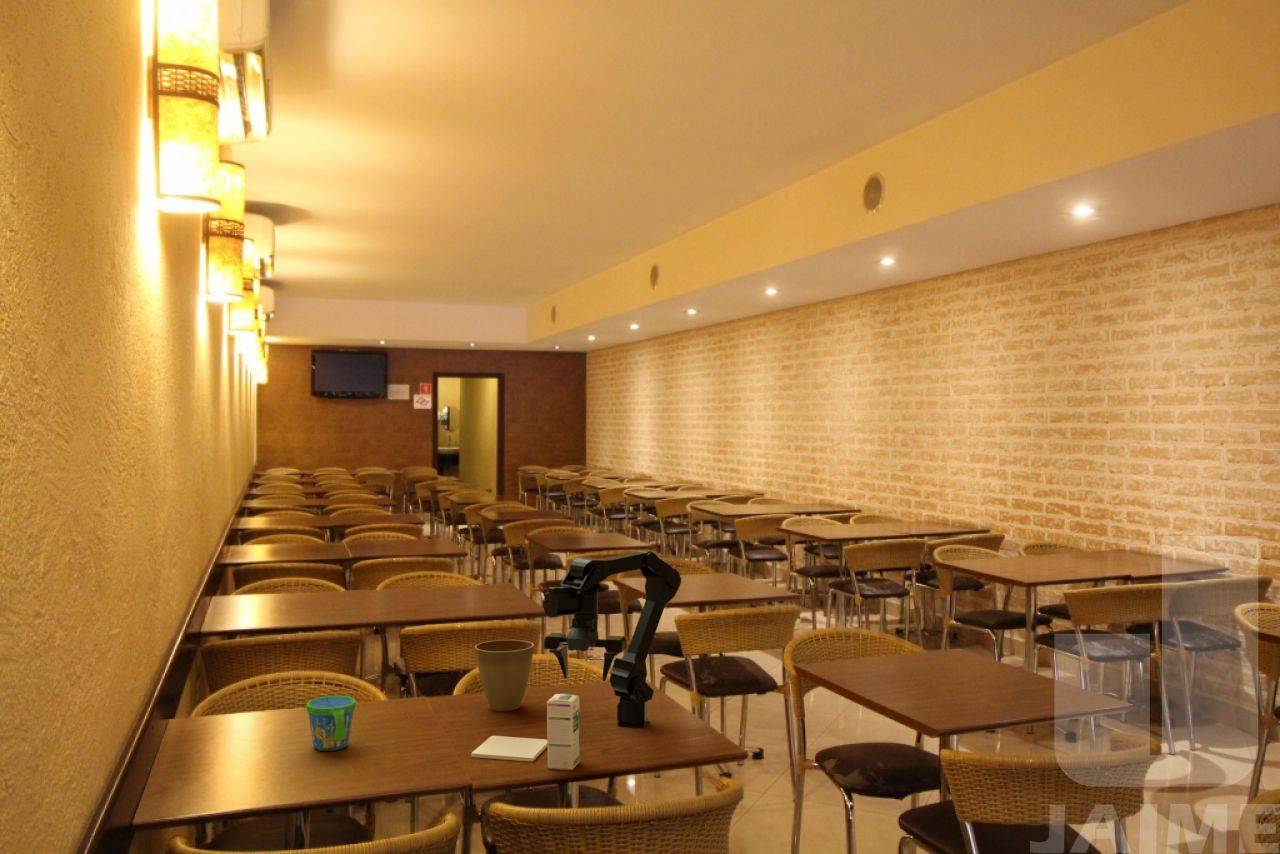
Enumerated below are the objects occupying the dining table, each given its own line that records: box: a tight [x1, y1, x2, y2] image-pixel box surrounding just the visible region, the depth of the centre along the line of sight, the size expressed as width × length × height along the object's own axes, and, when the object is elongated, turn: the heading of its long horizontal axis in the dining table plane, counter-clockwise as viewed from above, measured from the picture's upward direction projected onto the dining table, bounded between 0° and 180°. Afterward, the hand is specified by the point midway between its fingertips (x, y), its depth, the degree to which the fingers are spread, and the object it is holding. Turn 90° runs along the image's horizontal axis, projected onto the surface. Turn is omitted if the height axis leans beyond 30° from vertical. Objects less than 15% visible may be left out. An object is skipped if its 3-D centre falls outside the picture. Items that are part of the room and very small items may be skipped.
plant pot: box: [474, 639, 535, 712], centre depth 263 cm, size 15×15×16 cm
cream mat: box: [470, 735, 547, 763], centre depth 229 cm, size 14×13×1 cm
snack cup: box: [305, 695, 357, 752], centre depth 231 cm, size 16×10×10 cm
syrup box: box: [546, 693, 581, 771], centre depth 220 cm, size 6×6×14 cm
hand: (585, 679), depth 240 cm, fingers open, 9 cm apart
